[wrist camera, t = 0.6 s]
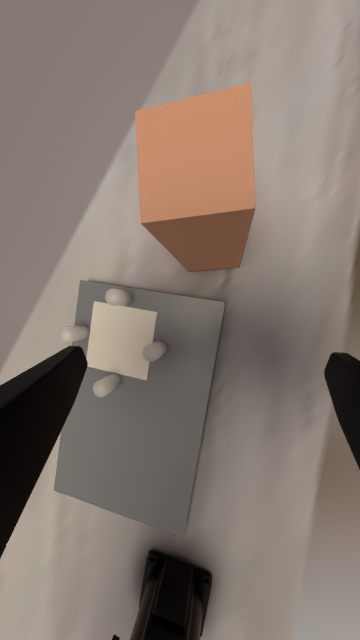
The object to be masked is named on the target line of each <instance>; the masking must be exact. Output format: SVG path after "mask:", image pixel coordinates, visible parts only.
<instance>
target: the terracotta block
mask: <svg viewBox="0 0 360 640" xmlns="http://www.w3.org/2000/svg"><path fill="white" fill-rule="evenodd" d="M135 114H136V133H137V153H138V173H139V192H140V212H141V224H142V225H143V226H144V227H145V228H146V229H147V230H148V231H149V232H150V233H151V234H152V235H153V236H154V237H155V238H156V239H157V240H158V241H159V242H160V243H161V244H162V245H163V246H164V247H165V248H166V249H167V250H168V251H169V252H170V253H171V254H172V255H173V256H174V257H175V258H176V259H177V260H178V261H179V262H180V263H181V264H182V265H183V266H184V267H185V268H186V269H187V270H188V271H189V272H192V271H204V270H216V269H228V268H239V267H240V263H241V259H242V255H243V252H244V248H245V244H246V241H247V237H248V233H249V230H250V226H251V222H252V219H253V215H254V211H255V183H254V154H253V125H252V96H251V83H248V84H244V85H240V86H236V87H232V88H228V89H224V90H220V91H216V92H211V93H207V94H203V95H199V96H195V97H191V98H187V99H183V100H179V101H174V102H170V103H166V104H162V105H158V106H154V107H150V108H146V109H142V110H138V111H135Z"/></svg>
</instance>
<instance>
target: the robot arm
mask: <svg viewBox="0 0 360 640" xmlns="http://www.w3.org/2000/svg"><path fill="white" fill-rule="evenodd" d="M87 366H88V362H87V359H86V356H85V354H84V351H83V349H82V347H81V346H69V347H67V348H65V349H63V350H61V351H60V352H58V353H56V354H54V355H53V356H51V357H49V358H47V359H46V360H44V361H42V362H40V363H39V364H37V365H35V366H34V367H32V368H30V369H28V370H27V371H25V372H23V373H21V374H20V375H18V376H16V377H14V378H13V379H11V380H9V381H7V382H6V383H4V384H2V385H0V558H1V556H2V554H3V552H4V549H5V547H6V544H7V543H8V541H9V539H10V537H11V534H12V532H13V530H14V528H15V526H16V524H17V522H18V520H19V518H20V516H21V514H22V511H23V509H24V507H25V505H26V503H27V501H28V499H29V497H30V495H31V493H32V491H33V489H34V486H35V484H36V482H37V480H38V478H39V476H40V474H41V472H42V470H43V468H44V466H45V463H46V461H47V459H48V457H49V455H50V453H51V451H52V449H53V447H54V445H55V443H56V440H57V438H58V436H59V434H60V432H61V430H62V428H63V426H64V424H65V422H66V420H67V418H68V415H69V413H70V411H71V409H72V407H73V405H74V402H75V400H76V397H77V395H78V392H79V389H80V386H81V384H82V381H83V378H84V375H85V372H86V370H87ZM324 375H325V379H326V383H327V386H328V389H329V392H330V396H331V399H332V402H333V405H334V409H335V412H336V415H337V418H338V420H339V423H340V425H341V427H342V430H343V432H344V434H345V437H346V439H347V442H348V444H349V446H350V448H351V451H352V453H353V455H354V458H355V460H356V462H357V465H358V466H359V469H360V361H359V360H357V359H356V358H354V357H352V356H351V355H349V354H348V353H339V352H334V353H332V354H331V355H330V357H329V360H328V362H327V365H326V368H325V371H324ZM211 584H212V576H211V574H210V573H209V572H207V571H204V570H202V569H199V568H197V567H194V566H192V565H189V564H187V563H184V562H181V561H179V560H176V559H174V558H171V557H169V556H166V555H164V554H161V553H158V552H156V551H153V550H151V551H149V553H148V556H147V561H146V567H145V573H144V580H143V586H142V592H141V598H140V604H139V611H138V615H137V618H136V621H135V625H134V628H133V631H132V635H131V638H130V640H200V637H201V636H202V632H203V627H204V621H205V616H206V611H207V605H208V600H209V595H210V589H211ZM119 639H120V638H119V637H118V636H116V635H115V634H114V636H113V639H112V640H119Z"/></svg>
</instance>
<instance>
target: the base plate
mask: <svg viewBox="0 0 360 640" xmlns="http://www.w3.org/2000/svg"><path fill="white" fill-rule="evenodd" d="M224 307H225V302H220V301H213V300H207V299H200V298H194V297H187V296H181V295H174V294H168V293H161V292H155V291H148V290H142V289H135V288H129V287H122V286H116V285H110V284H103V283H97V282H90V281H84V280H80V287H79V295H78V303H77V311H76V319H75V326H71V327H63V328H61V329H60V331H59V339H60V340H61V341H62V342H63V343H70V342H73V343H72V346H81V347H82V349H83V351H84V354H85V356H86V359H87V362H88V366H87V370H86V372H85V375H84V378H83V381H82V384H81V386H80V389H79V392H78V395H77V397H76V400H75V402H74V405H73V407H72V409H71V411H70V413H69V415H68V418H67V420H66V422H65V424H64V426H63V428H62V430H61V438H60V446H59V454H58V462H57V470H56V478H55V486H54V490H55V491H57V492H60V493H63V494H66V495H68V496H71V497H74V498H76V499H79V500H82V501H85V502H87V503H90V504H93V505H95V506H98V507H101V508H103V509H106V510H109V511H112V512H114V513H117V514H120V515H122V516H125V517H128V518H130V519H133V520H136V521H139V522H141V523H144V524H147V525H149V526H152V527H155V528H157V529H160V530H163V531H166V532H168V533H171V534H174V535H176V536H179V537H182V538H184V535H185V530H186V524H187V519H188V513H189V507H190V501H191V496H192V490H193V484H194V479H195V473H196V467H197V461H198V456H199V450H200V444H201V439H202V433H203V427H204V421H205V416H206V410H207V404H208V399H209V393H210V387H211V382H212V376H213V370H214V364H215V359H216V353H217V347H218V342H219V336H220V330H221V324H222V319H223V313H224Z"/></svg>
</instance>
